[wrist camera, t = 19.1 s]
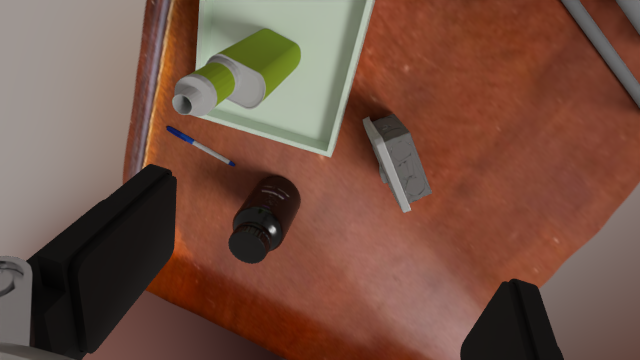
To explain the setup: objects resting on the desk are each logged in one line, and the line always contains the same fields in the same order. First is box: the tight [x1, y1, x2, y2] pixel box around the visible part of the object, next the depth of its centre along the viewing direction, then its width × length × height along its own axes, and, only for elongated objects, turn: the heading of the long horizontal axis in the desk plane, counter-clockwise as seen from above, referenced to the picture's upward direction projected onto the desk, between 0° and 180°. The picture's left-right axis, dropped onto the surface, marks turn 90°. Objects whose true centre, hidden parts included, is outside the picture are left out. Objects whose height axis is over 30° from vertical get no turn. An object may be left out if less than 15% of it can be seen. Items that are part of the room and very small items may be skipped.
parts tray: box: [196, 0, 375, 157], centre depth 47 cm, size 20×18×3 cm
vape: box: [172, 28, 301, 116], centre depth 39 cm, size 4×6×20 cm, turn 66°
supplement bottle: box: [228, 176, 301, 264], centre depth 53 cm, size 7×7×12 cm
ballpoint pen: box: [167, 126, 235, 166], centre depth 57 cm, size 10×1×1 cm, turn 63°
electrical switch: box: [363, 114, 432, 213], centre depth 47 cm, size 9×5×9 cm, turn 24°
